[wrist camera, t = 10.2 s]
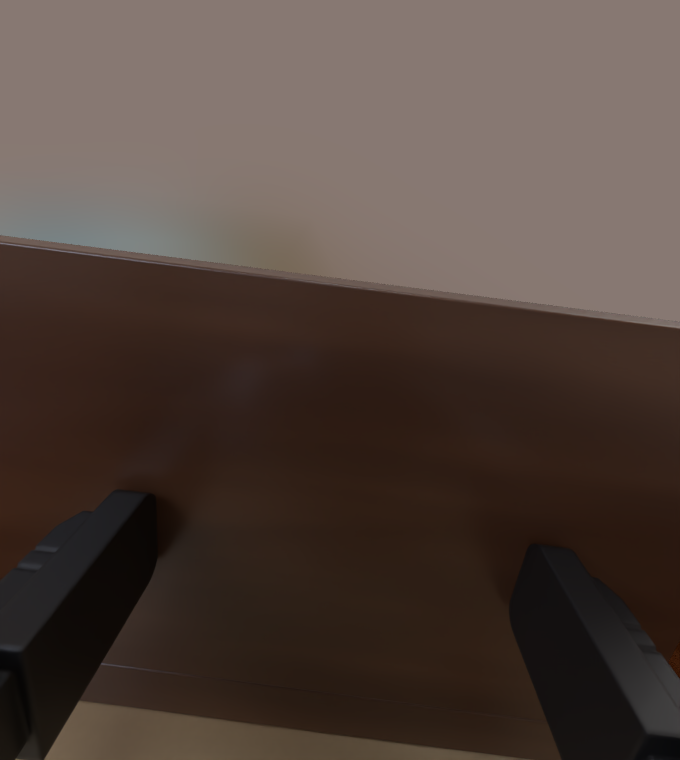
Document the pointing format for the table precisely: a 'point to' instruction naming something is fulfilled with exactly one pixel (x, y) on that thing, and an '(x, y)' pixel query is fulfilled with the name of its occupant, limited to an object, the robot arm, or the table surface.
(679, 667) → the table surface
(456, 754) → the board
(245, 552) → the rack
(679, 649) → the table surface
